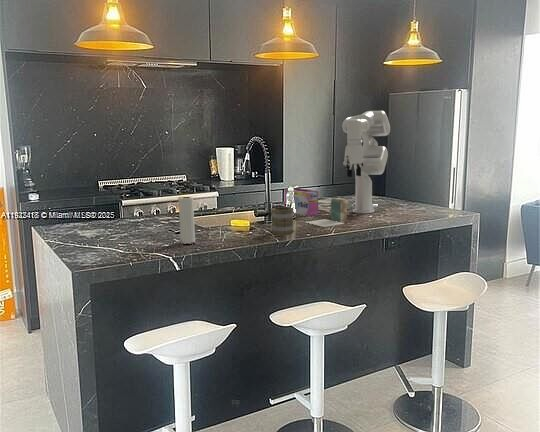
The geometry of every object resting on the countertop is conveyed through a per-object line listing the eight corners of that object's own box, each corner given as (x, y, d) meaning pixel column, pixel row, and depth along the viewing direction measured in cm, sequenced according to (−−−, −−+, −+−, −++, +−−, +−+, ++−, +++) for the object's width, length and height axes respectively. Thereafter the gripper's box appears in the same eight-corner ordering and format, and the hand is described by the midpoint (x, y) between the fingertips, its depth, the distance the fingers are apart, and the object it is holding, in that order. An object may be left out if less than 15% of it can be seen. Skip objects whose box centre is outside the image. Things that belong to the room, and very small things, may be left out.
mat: (324, 219, 296) (324, 219, 296) (344, 223, 283) (344, 223, 283) (304, 222, 288) (304, 222, 288) (324, 227, 275) (324, 226, 275)
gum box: (282, 211, 327) (282, 188, 324) (292, 209, 331) (292, 187, 329) (308, 216, 308) (308, 192, 306) (319, 214, 313) (318, 191, 310)
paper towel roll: (196, 244, 242) (194, 197, 238) (182, 245, 241) (180, 198, 237) (193, 241, 249) (191, 195, 245) (180, 242, 247) (178, 196, 244)
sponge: (336, 219, 296) (336, 197, 293) (346, 221, 289) (346, 199, 287) (330, 220, 293) (330, 198, 291) (340, 222, 287) (340, 200, 285)
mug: (295, 234, 260) (295, 209, 258) (273, 235, 258) (273, 211, 256) (289, 228, 275) (289, 204, 273) (268, 229, 273) (268, 205, 271)
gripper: (361, 142, 298) (360, 174, 301) (337, 143, 288) (337, 177, 291) (370, 142, 292) (370, 175, 295) (347, 143, 282) (346, 178, 285)
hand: (354, 175), depth 293 cm, fingers open, 5 cm apart
